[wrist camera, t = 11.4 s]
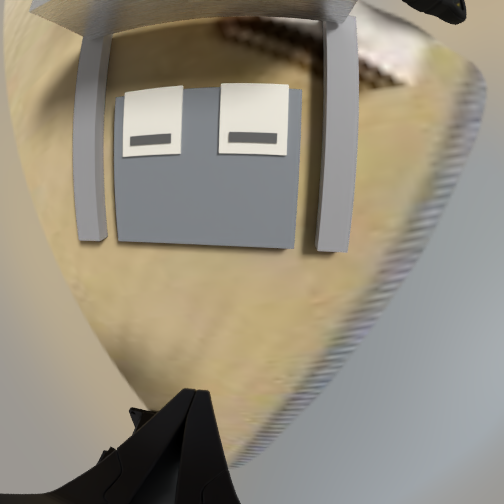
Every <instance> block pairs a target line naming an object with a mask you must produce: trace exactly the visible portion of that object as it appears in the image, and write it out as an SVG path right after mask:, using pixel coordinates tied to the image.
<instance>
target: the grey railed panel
mask: <svg viewBox="0 0 504 504" xmlns="http://www.w3.org/2000/svg"><path fill="white" fill-rule="evenodd" d="M112 35H113V34H110V35H107V36H103V37H100V38H96V39H93V40H89V39H87V38H85V37H83V40H82V46H81V52H80V58H79V65H78V73H77V82H76V92H75V104H74V122H73V177H74V195H75V208H76V219H77V228H78V236H79V240H84V241H101V240H103V239H104V238H106V237H108V233H107V223H106V211H105V195H104V169H103V134H104V108H105V93H106V82H107V72H108V63H109V55H110V48H111V42H112ZM323 49H324V96H323V133H322V155H321V173H320V188H319V202H318V214H317V226H316V237H315V247H316V249H317V251H328V252H348V244H349V237H350V228H351V220H352V211H353V201H354V190H355V177H356V163H357V145H358V118H359V69H358V43H357V27H356V17H355V16H350V15H348V16H347V18H346V20H345V21H344V23H343V24H339V23H333V22H326V21H323ZM301 110H302V90H300V89H289V85H283V84H260V83H221V87H211V88H191V89H183V85H182V86H171V87H161V88H153V89H145V90H138V91H131V92H125V96H122V97H116V103H115V123H114V182H115V203H116V218H117V230H118V241H130V242H154V243H178V244H201V245H223V246H245V247H266V248H287V249H294V241H295V227H296V213H297V198H298V181H299V162H300V139H301Z"/></svg>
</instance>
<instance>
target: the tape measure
mask: <svg viewBox="0 0 504 504" xmlns="http://www.w3.org/2000/svg"><path fill="white" fill-rule="evenodd" d="M402 1H403V2H405V3H407V4H408V5H409V6H411V7H412V8H414V9H416V10H418V11H420V12H424V13H425V14H430V15H434V16H436V17H438V18H440V19H441V20H443V21H445V22H448V23H450V24H455V25H456V24H459V23H462V22H463V21H465V19H466V6H465V2H464V0H402Z"/></svg>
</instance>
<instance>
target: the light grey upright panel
mask: <svg viewBox="0 0 504 504" xmlns="http://www.w3.org/2000/svg"><path fill="white" fill-rule="evenodd" d="M356 2H357V0H33V1H32V4H31V7H30V10H29V12H30V13H33V14H35V15H38V16H40V17H42V18H45V19H47V20H49V21H51V22H54V23H56V24H58V25H60V26H62V27H64V28H66V29H69V30H71V31H73V32H75V33H77V34H79V35H81V36H83V37H85V38H87V39H89V40H93V39H96V38H100V37H103V36H107V35H110V34H114V33H118V32H122V31H126V30H131V29H135V28H140V27H145V26H150V25H155V24H161V23H167V22H174V21H182V20H190V19H200V18H213V17H233V16H267V17H287V18H300V19H310V20H318V21H326V22H333V23H339V24H343V23H344V21H345V20H346V18H347V16H348V15H349V13H350V12H351V10H352V8H353V7H354V5H355V3H356Z"/></svg>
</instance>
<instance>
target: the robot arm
mask: <svg viewBox="0 0 504 504" xmlns="http://www.w3.org/2000/svg"><path fill="white" fill-rule="evenodd" d="M129 413H130V416H131V418H132V421H133V423H134V426H135V429H134V432H133V434H132V436H131V437H130V438H128V439H127V440H126V441H125V442H124V443H123V444H122V445H120V446H119V447H118V448H117V450H115V449H114V448H112V447H110V449H109V450H108V451H105V450H104V451H103V453H102V455H101V457H100V459H99V461H98V463H97V464H96V466H94V467H93V468H91V469H90V470H88V471H87V472H85V473H83V474H82V475H81V476H79V477H77V478H75V479H74V480H72V481H70V482H69V483H67V484H65V485H64V486H62V487H60V488H58V489H56V490H54V491H51V492H47V493H43V494H0V504H241V503H240V501H239V499H238V497H237V495H236V492H235V489H234V486H233V483H232V480H231V477H230V473H229V471H228V466H227V462H226V459H225V455H224V451H223V447H222V443H221V439H220V435H219V431H218V427H217V423H216V418H215V414H214V410H213V405H212V401H211V396H210V392H209V391H208V390H197V391H196V390H195V389H189V388H184V389H182V390H181V391H180V392H179V393H178V394H177V395H176V396H175V397H174V398H173V399H172V400H170V401H169V402H168V403H167V404H166V405H165V406H164V407H163V408H162V409H161V410H160V411H159V412H157V413H156V412H151V411H146V410H142V409H137V408H133V407H132V408H130V410H129Z"/></svg>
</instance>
